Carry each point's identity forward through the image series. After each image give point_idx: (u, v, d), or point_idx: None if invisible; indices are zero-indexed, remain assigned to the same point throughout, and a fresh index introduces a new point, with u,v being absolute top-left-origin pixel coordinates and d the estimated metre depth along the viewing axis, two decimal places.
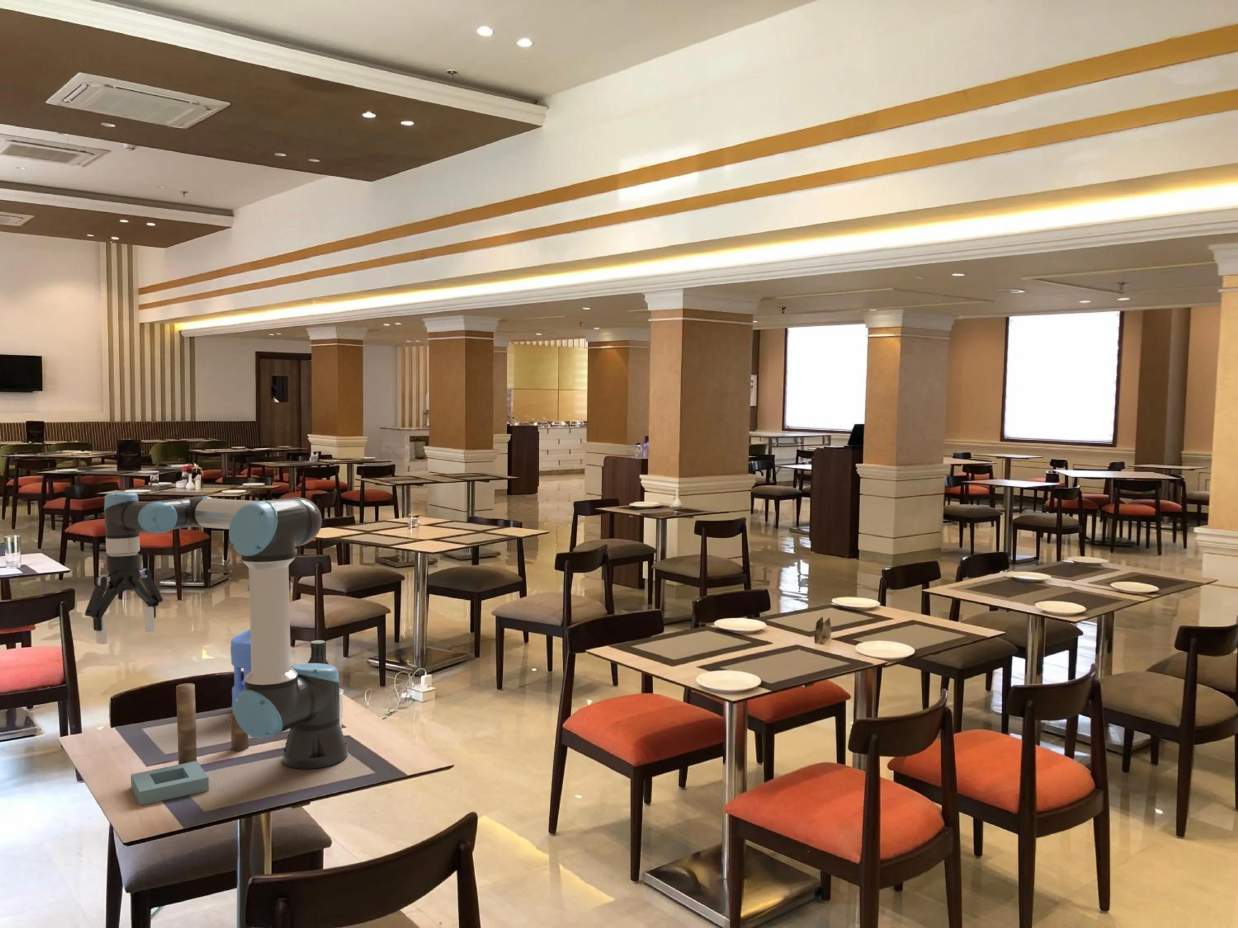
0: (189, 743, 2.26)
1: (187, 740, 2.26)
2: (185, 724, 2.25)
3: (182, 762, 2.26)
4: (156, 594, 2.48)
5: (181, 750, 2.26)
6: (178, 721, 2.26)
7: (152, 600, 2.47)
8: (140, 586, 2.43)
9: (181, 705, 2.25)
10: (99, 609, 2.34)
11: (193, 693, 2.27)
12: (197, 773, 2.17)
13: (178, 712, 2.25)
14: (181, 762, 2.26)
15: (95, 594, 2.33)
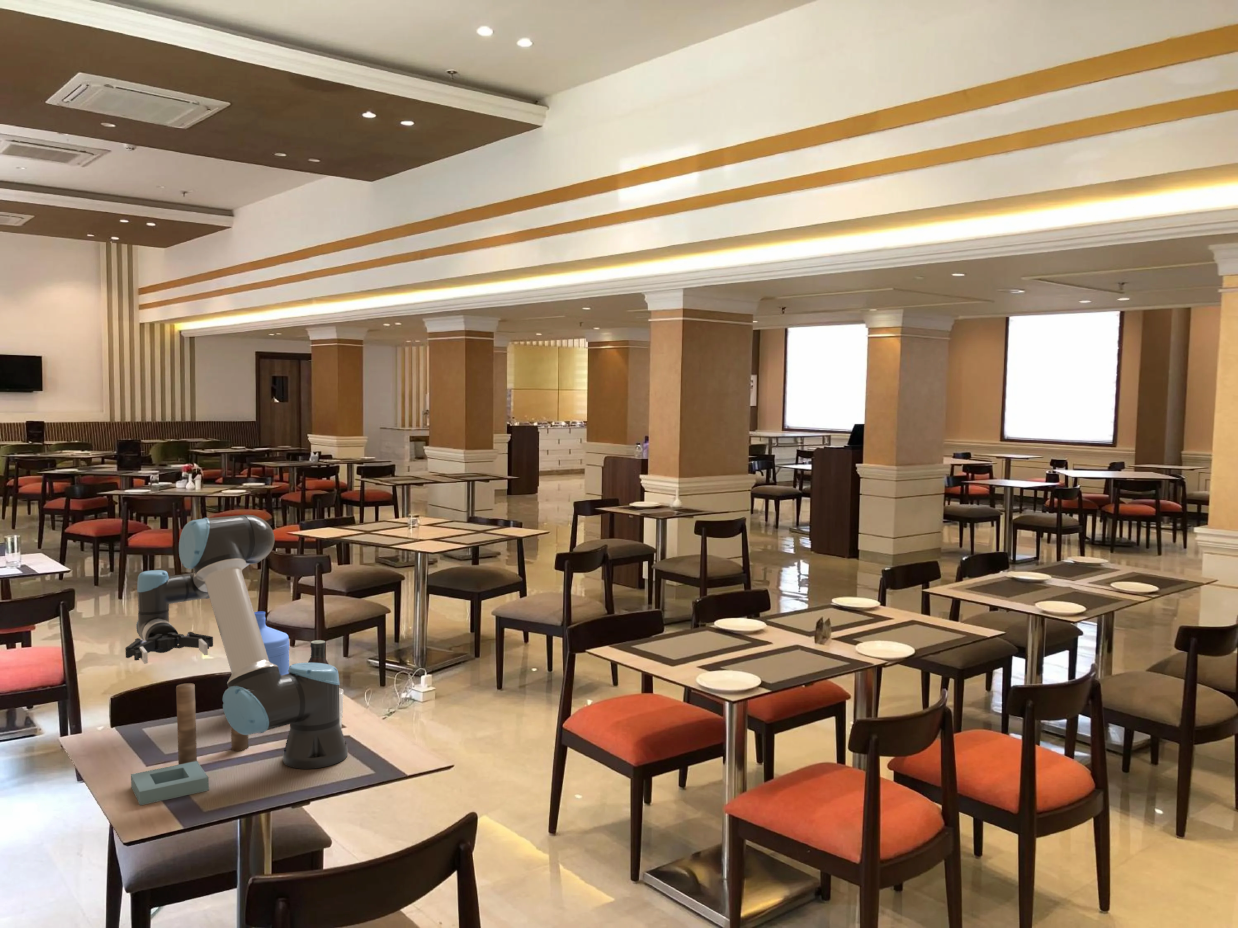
0: (189, 743, 2.26)
1: (187, 740, 2.26)
2: (185, 724, 2.25)
3: (182, 762, 2.26)
4: None
5: (181, 750, 2.26)
6: (178, 721, 2.26)
7: (199, 638, 2.45)
8: (180, 634, 2.46)
9: (181, 705, 2.25)
10: None
11: (193, 693, 2.27)
12: (197, 773, 2.17)
13: (178, 712, 2.25)
14: (181, 762, 2.26)
15: None
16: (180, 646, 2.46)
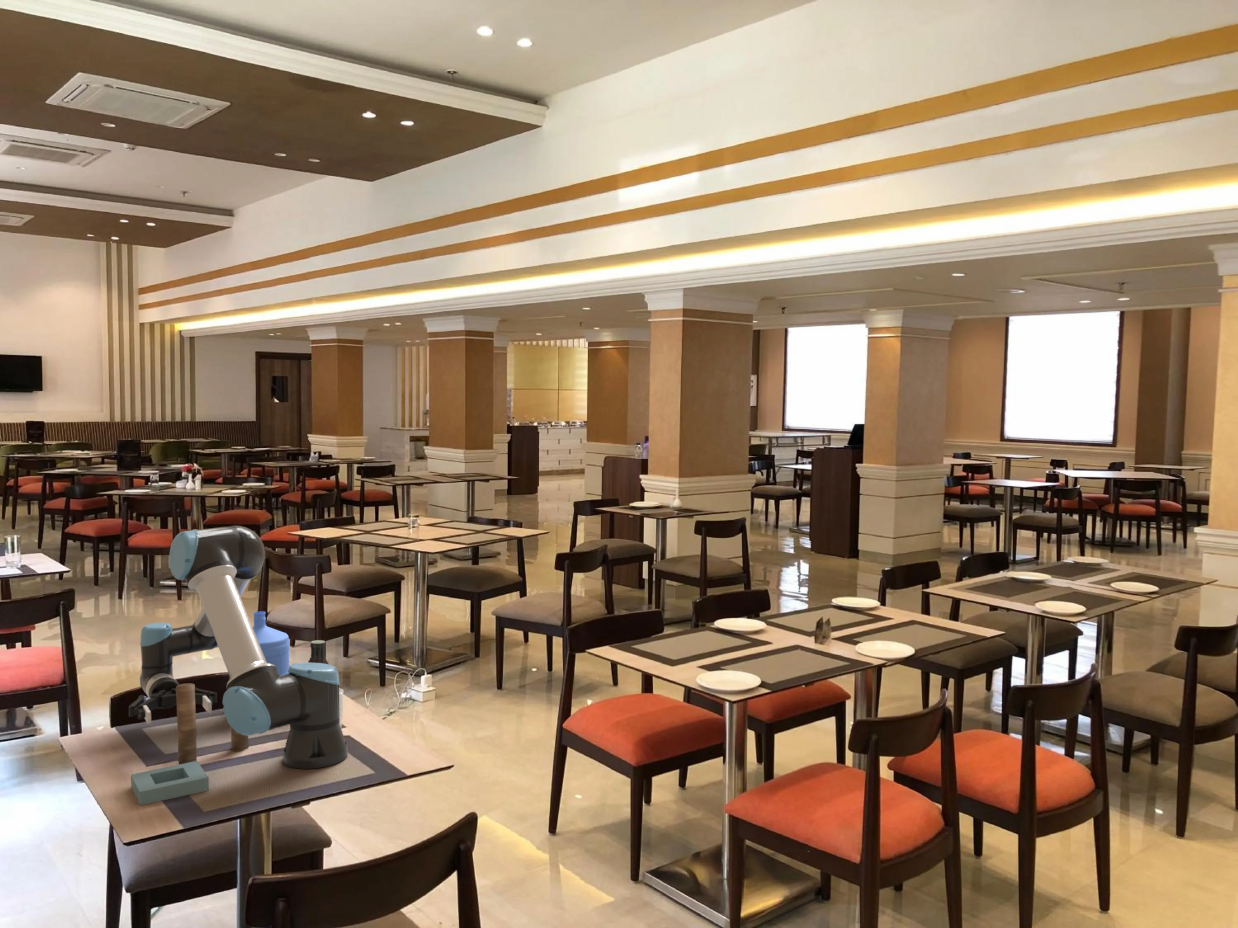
0: (189, 743, 2.26)
1: (187, 740, 2.26)
2: (185, 724, 2.25)
3: (182, 762, 2.26)
4: (207, 692, 2.44)
5: (181, 750, 2.26)
6: (178, 721, 2.26)
7: (203, 694, 2.43)
8: None
9: (181, 705, 2.25)
10: None
11: (193, 693, 2.27)
12: (197, 773, 2.17)
13: (178, 712, 2.25)
14: (181, 762, 2.26)
15: None
16: None
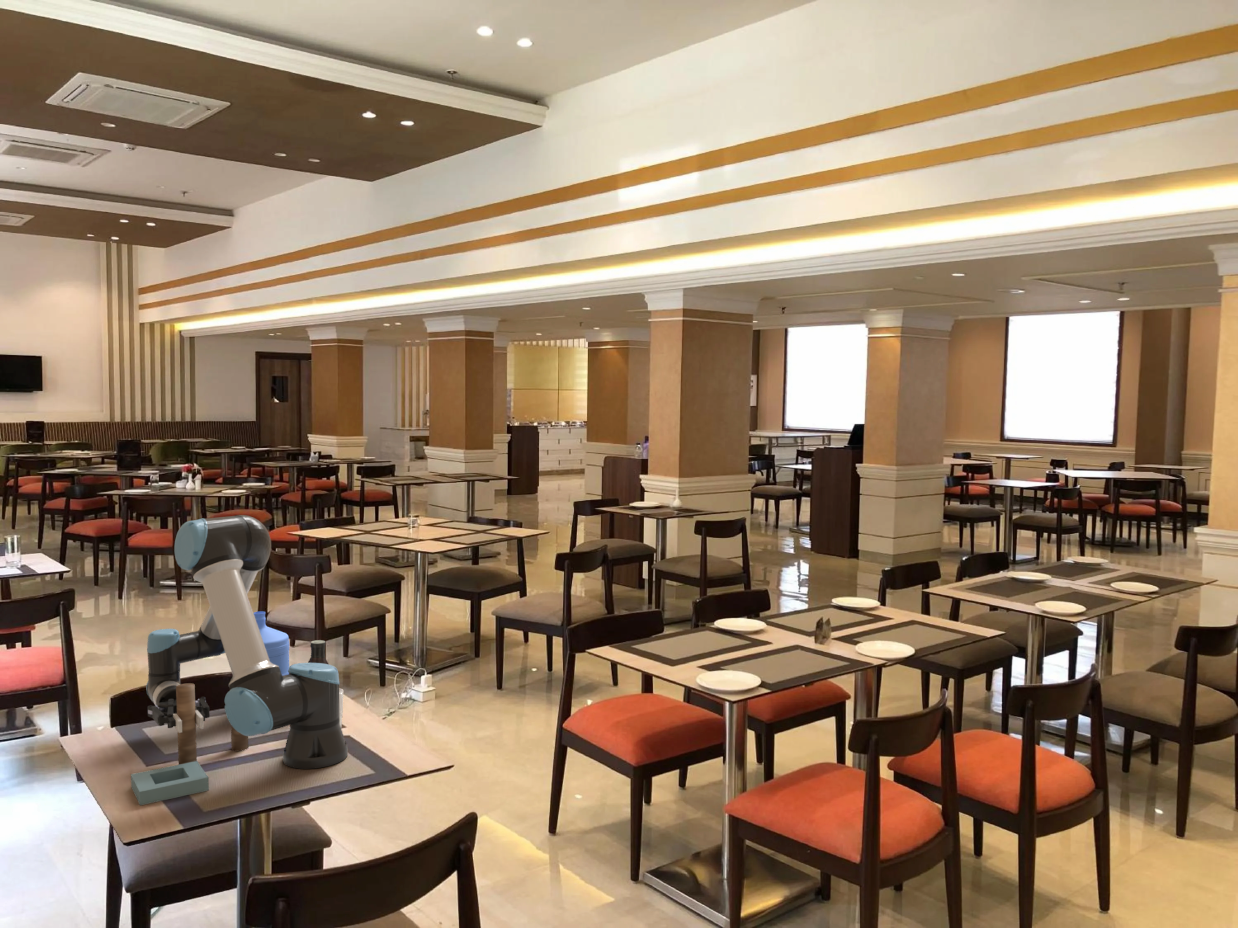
0: (189, 743, 2.26)
1: (187, 740, 2.26)
2: (185, 724, 2.25)
3: (182, 762, 2.26)
4: (203, 705, 2.33)
5: (181, 750, 2.26)
6: None
7: None
8: None
9: (181, 705, 2.25)
10: None
11: (193, 693, 2.27)
12: (197, 773, 2.17)
13: (178, 712, 2.25)
14: (181, 762, 2.26)
15: (154, 715, 2.29)
16: None
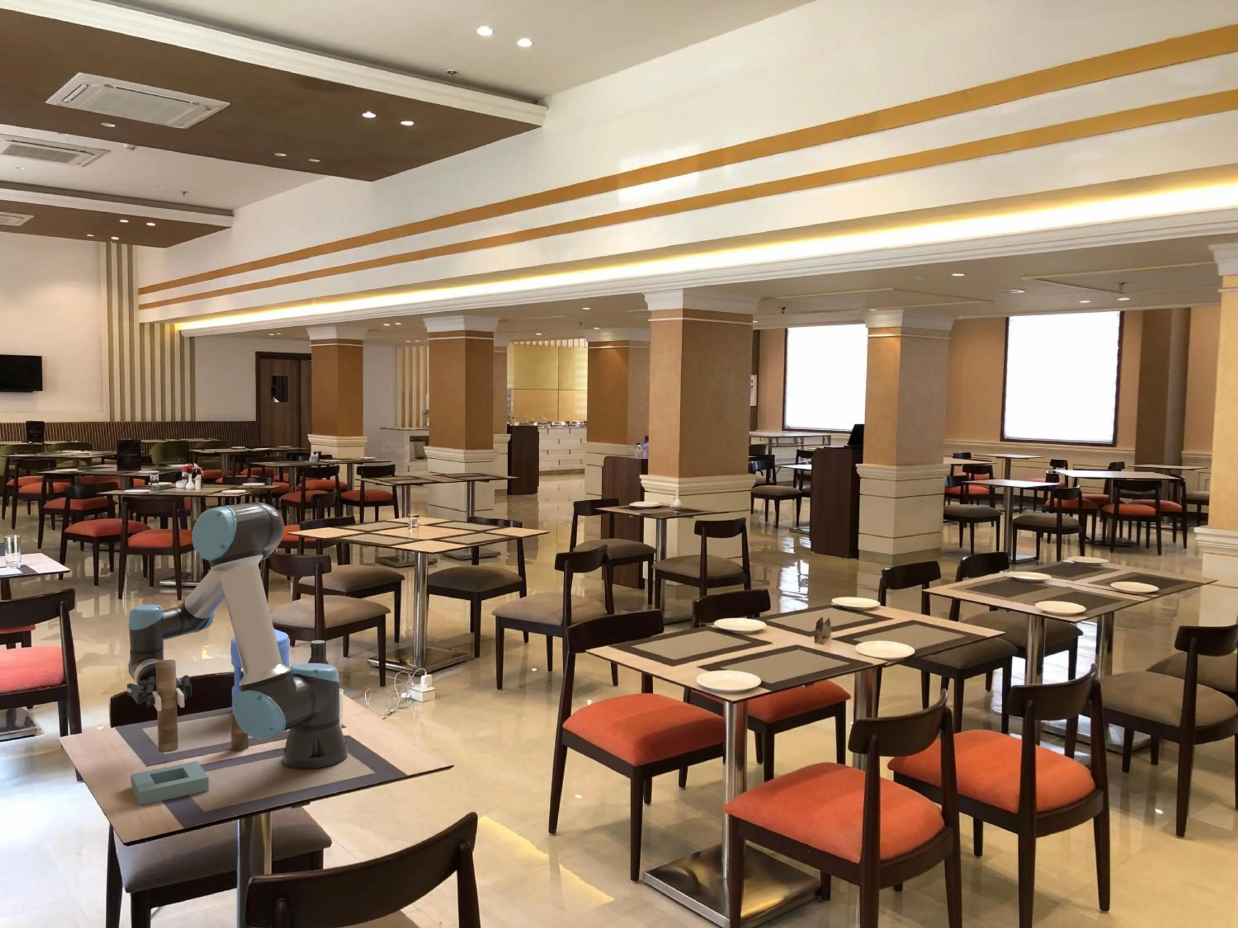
0: (170, 722, 2.14)
1: (167, 719, 2.13)
2: (165, 703, 2.13)
3: (162, 743, 2.14)
4: (185, 683, 2.21)
5: (160, 730, 2.14)
6: None
7: None
8: None
9: (161, 682, 2.13)
10: None
11: (174, 670, 2.14)
12: (197, 773, 2.17)
13: (158, 690, 2.13)
14: (161, 743, 2.14)
15: (133, 693, 2.17)
16: None
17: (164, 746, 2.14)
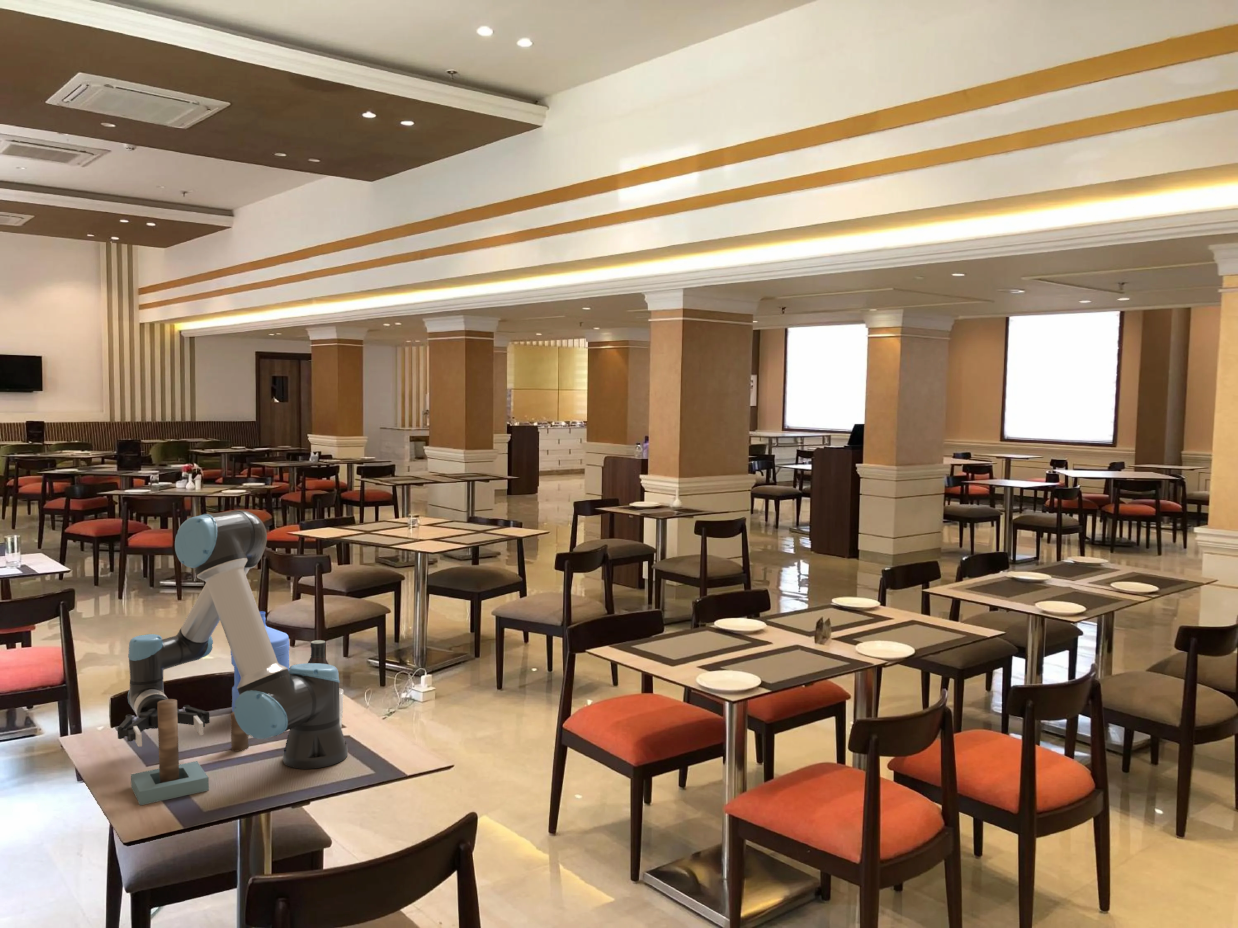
0: (171, 762, 2.14)
1: (169, 759, 2.13)
2: (167, 743, 2.13)
3: None
4: None
5: (162, 770, 2.13)
6: (159, 739, 2.13)
7: (195, 714, 2.22)
8: None
9: (163, 722, 2.13)
10: None
11: (175, 709, 2.14)
12: (197, 773, 2.17)
13: (159, 730, 2.13)
14: (162, 782, 2.14)
15: None
16: None
17: None
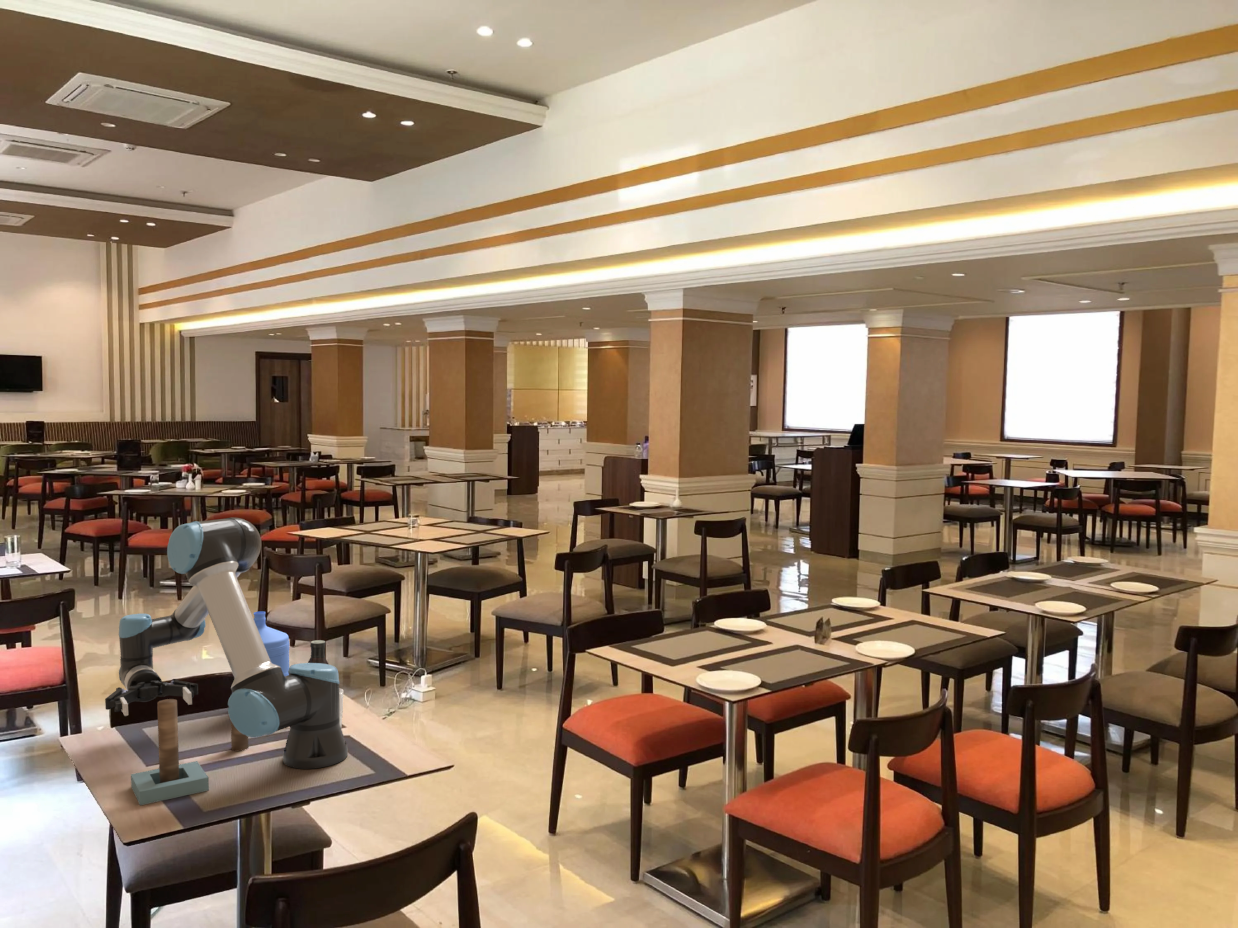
0: (171, 762, 2.14)
1: (169, 759, 2.13)
2: (167, 743, 2.13)
3: None
4: None
5: (162, 770, 2.13)
6: (159, 739, 2.13)
7: (184, 685, 2.33)
8: (163, 682, 2.35)
9: (163, 722, 2.13)
10: None
11: (175, 710, 2.14)
12: (197, 773, 2.17)
13: (159, 730, 2.13)
14: (162, 782, 2.14)
15: None
16: (164, 694, 2.34)
17: None
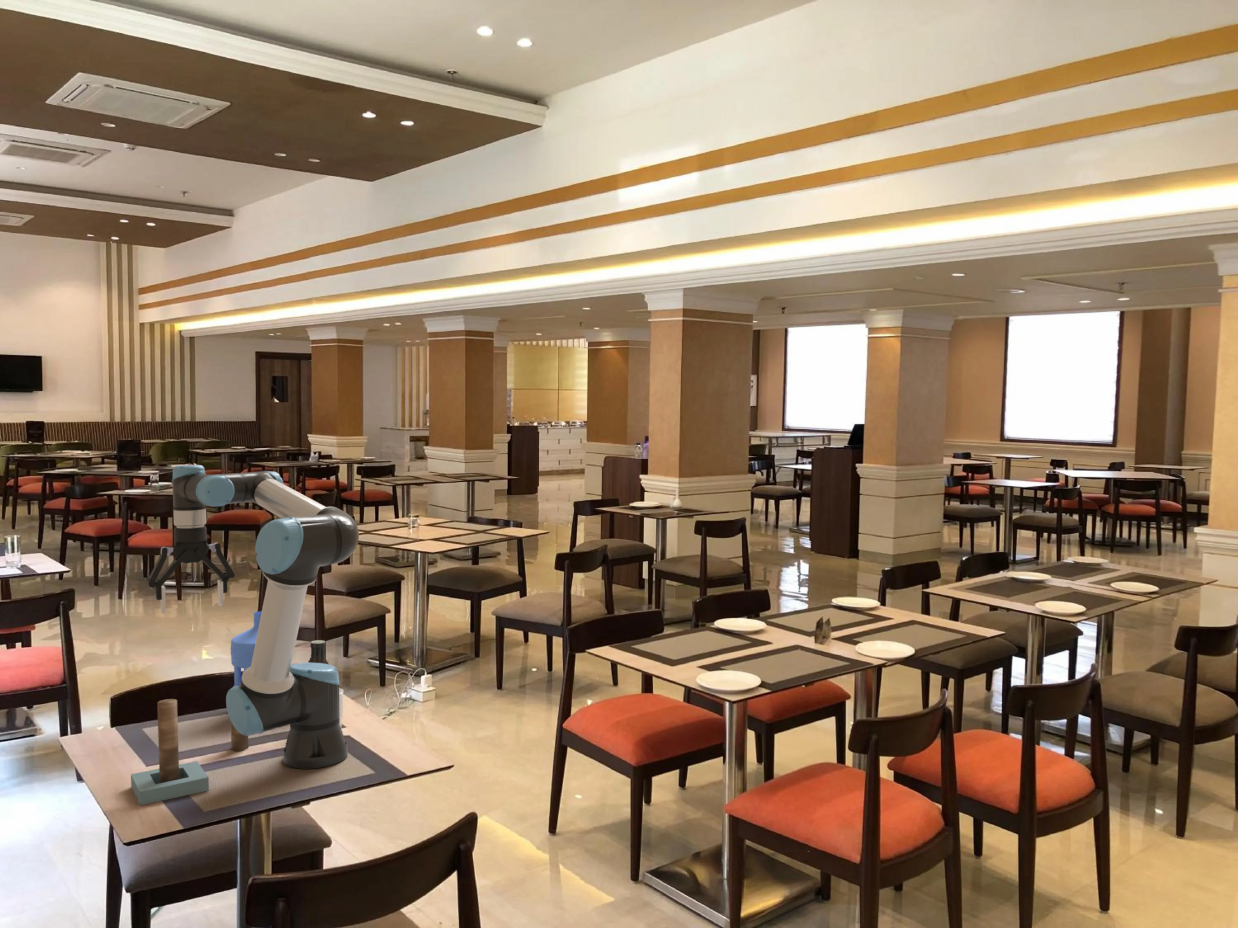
0: (171, 762, 2.14)
1: (169, 759, 2.13)
2: (167, 743, 2.13)
3: None
4: (227, 569, 2.46)
5: (162, 770, 2.13)
6: (159, 739, 2.13)
7: (222, 575, 2.45)
8: (206, 560, 2.42)
9: (163, 722, 2.13)
10: (160, 579, 2.37)
11: (175, 709, 2.14)
12: (197, 773, 2.17)
13: (159, 730, 2.13)
14: (162, 782, 2.14)
15: (156, 564, 2.37)
16: (203, 561, 2.45)
17: None
